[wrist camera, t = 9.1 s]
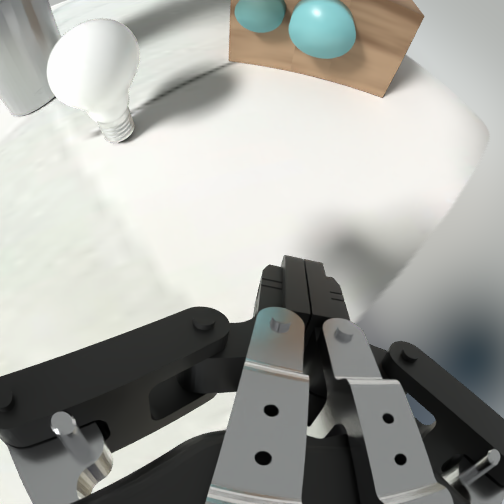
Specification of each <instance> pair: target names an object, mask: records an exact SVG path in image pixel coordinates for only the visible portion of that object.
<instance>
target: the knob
mask: <svg viewBox="0 0 504 504" xmlns="http://www.w3.org/2000/svg"><path fill="white" fill-rule="evenodd" d="M289 35H290V38H291V40H292V42H293V43H294V45H295V46H296V47H297V48H298V49H300V50H301V51H302V52H304V53H306V54H307V55H310V56H313V57H316V58H322V59H330V58H336V57H339V56H342V55H344V54H345V53H347V52H348V51H349V50H350V49H351V48H352V47H353V45H354V43H355V39H356V31H355V25H354V20H353V16H352V13H351V11H350V10H349V8H348V7H347V6H346V5H345V4H344V3H343V2H341V1H340V0H301V1H300V2H298V4H297V5H296V6H295V8H294V10H293V13H292V17H291V20H290V23H289Z"/></svg>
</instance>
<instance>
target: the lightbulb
mask: <svg viewBox="0 0 504 504" xmlns="http://www.w3.org/2000/svg"><path fill="white" fill-rule="evenodd" d="M139 61H140V49H139V45H138V42H137V39H136V37H135V36H134V34H133V33H132V31H131V30H130V29H129V28H128V27H126V26H125V25H124V24H122V23H120V22H118V21H115V20H111V19H104V18H100V19H92V20H88V21H85V22H82V23H80V24H78V25H76V26H74V27H73V28H71V29H70V30H68V31H67V32H66V33H65V34H64V35H63V36H62V37H61V38H60V39H59V40H58V41H57V43H56V44H55V46H54V47H53V49H52V51H51V53H50V56H49V59H48V63H47V80H48V84H49V87H50V89H51V91H52V92H53V94H54V95H55V96H56V98H57V99H59V100H60V101H61V102H62V103H64V104H66V105H68V106H70V107H73V108H76V109H79V110H83V111H85V112H86V113H87V114H88V115H89V116H90V117H91V118H92V119H93V120H94V121H96V122H97V124H98V125H99V128H100V129H101V132H102V134H103V136H104V138H105V140H106V141H108V142H111V143H117V142H120V141H123V140H125V139H126V138H128V137H129V136H130V135H131V134H132V132H133V131H134V127H135V125H134V121H133V119H132V116H131V113H130V110H129V107H128V105H129V88H130V86H131V84H132V82H133V80H134V78H135V75H136V73H137V70H138V67H139Z"/></svg>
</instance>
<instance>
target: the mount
mask: <svg viewBox="0 0 504 504" xmlns="http://www.w3.org/2000/svg"><path fill="white" fill-rule="evenodd" d="M300 1H301V0H231V6H230V35H229V61H233V62H241V63H248V64H254V65H260V66H266V67H272V68H277V69H282V70H287V71H292V72H296V73H301V74H305V75H309V76H313V77H317V78H321V79H325V80H328V81H332V82H336V83H339V84H342V85H346V86H349V87H352V88H355V89H358V90H361V91H364V92H367V93H370V94H373V95H376V96H379V97H382V98H383V96H384V94H385V92H386V90H387V88H388V87H389V85H390V83H391V81H392V79H393V77H394V75H395V73H396V71H397V69H398V68H399V66H400V64H401V62H402V60H403V58H404V56H405V54H406V52H407V50H408V48H409V46H410V44H411V42H412V40H413V38H414V36H415V34H416V32H417V30H418V28H419V26H420V24H421V22H422V20H423V18H424V15H423V14H422V13H421V11H420V10H419V8H418V7H417V6H416V4H415V3H414V2H413V1H412V0H340V1H341V2H343V3H344V4H345V5H346V6H347V7H348V8H349V10H350V11H351V13H352V16H353V20H354V25H355V31H356V39H355V43H354V45H353V47H352V48H351V49H350V50H349V51H348V52H347V53H345V54H344V55H342V56H339V57H336V58H330V59H322V58H316V57H313V56H310V55H307V54H306V53H304V52H302V51H301V50H300V49H298V48H297V47H296V46H295V45H294V43H293V42H292V40H291V38H290V35H289V23H290V20H291V17H292V13H293V10H294V8H295V6H296V5H297V4H298V2H300Z"/></svg>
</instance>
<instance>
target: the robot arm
mask: <svg viewBox="0 0 504 504" xmlns="http://www.w3.org/2000/svg"><path fill="white" fill-rule="evenodd" d="M60 38H61V35H60V32H59V30H58V27H57V24H56V22H55V19H54V16H53V13H52V10H51V7H50V4H49V2H48V0H0V98H1V99H2V101H3V102H4V104H5V105H6V107H7V108H8V110H9V111H10V113H11V114H12V115H14V116H23V115H26V114H29V113H31V112H33V111H35V110H37V109H38V108H40V107H42V106H43V105H45V104H46V103H47V102H49V101H50V100H51V99H52V98H54V97H55V95H54V94H53V92H52V91H51V89H50V87H49V84H48V80H47V63H48V59H49V56H50V53H51V51H52V49H53V47H54V46H55V44H56V43H57V41H58V40H59V39H60ZM224 392H237V393H236V397H235V401H234V404H233V408H232V412H231V415H230V419H229V422H228V426H227V430H222V431H215V432H210V433H205V434H202V435H199V436H196V437H193V438H191V439H189V440H187V441H185V442H183V443H182V444H180V445H178V446H177V447H175V448H173V449H172V450H170V451H169V452H167V453H165V454H164V455H162V456H161V457H159V458H157V459H156V460H154V461H152V462H151V463H149V464H147V465H145V466H144V467H142V468H140V469H138V470H137V471H135V472H133V473H131V474H130V475H128V476H126V477H124V478H122V479H120V480H118V481H116V482H115V483H113V484H111V485H109V486H107V487H105V488H103V489H101V490H99V491H97V492H95V493H92V494H91V492H92V489H93V488H94V486H95V485H96V484H97V483H98V482H99V481H101V480H102V479H104V478H105V477H106V476H107V475H108V474H109V473H110V471H111V469H112V465H113V457H112V454H111V453H113V452H115V451H117V450H119V449H121V448H123V447H125V446H127V445H129V444H132V443H134V442H136V441H138V440H139V439H141V438H143V437H145V436H147V435H149V434H151V433H153V432H155V431H157V430H159V429H160V428H162V427H164V426H166V425H168V424H170V423H171V422H173V421H175V420H177V419H179V418H180V417H182V416H184V415H186V414H187V413H189V412H191V411H192V410H194V409H196V408H198V407H199V406H201V405H203V404H204V403H206V402H208V401H209V400H211V399H212V398H214V396H215V395H216V394H217V393H224ZM407 393H409V394H410V395H411V396H412V397H413V398H415V400H417V401H418V402H419V403H420V404H421V405H422V406H424V407H425V408H426V409H427V410H428V411H429V412H430V413H431V414H433V415H434V417H435V419H436V421H435V422H434V423H433V424H432V425H424V424H422V423H421V422H419V421H418V420H417V419H416V418H415V417H414V416H413V413H412V411H411V408H410V406H409V403H408V401H407V398H406V394H407ZM0 438H1V440H2V441H3V442H4V443H5V444H6V445H7V446H8V449H9V451H10V454H11V456H12V459H13V461H14V464H15V466H16V469H17V471H18V473H19V476H20V478H21V480H22V482H23V485H24V487H25V489H26V491H27V493H28V495H29V497H30V499H31V501H32V503H33V504H501V503H502V501H503V499H504V419H503V418H502V417H501V416H500V415H498V414H497V413H496V412H495V411H494V410H493V409H491V408H490V407H489V406H488V405H487V404H485V403H484V402H483V401H482V400H481V399H479V398H478V397H477V396H476V395H475V394H474V393H472V392H471V391H470V390H469V389H467V388H466V387H465V386H464V385H463V384H462V383H460V382H459V381H458V380H457V379H456V378H454V377H453V376H452V375H451V374H449V373H448V372H447V371H445V370H444V369H443V368H442V367H441V366H440V365H438V364H437V363H436V362H435V361H433V360H432V359H431V358H430V357H429V356H427V355H426V354H425V353H423V352H422V351H421V350H420V349H418V348H417V347H416V346H414V345H412V344H410V343H407V342H403V341H398V342H394V343H393V344H392V345H391V346H390V348H389V350H388V351H386V350H383V349H381V348H378V347H375V346H373V345H370V344H369V343H368V341H367V338H366V336H365V334H364V332H363V330H362V329H361V328H360V327H359V326H358V325H356V324H355V323H353V322H351V321H350V318H349V315H348V311H347V308H346V304H345V302H344V298H343V295H342V291H341V288H340V285H339V284H338V283H337V282H336V281H335V280H334V279H333V278H332V277H327V276H326V275H325V271H324V267H323V263H320V262H315V261H311V260H306V259H304V260H303V259H301V258H296V257H292V256H287V255H284V257H283V260H282V264H281V267H278V266H274V265H268V266H267V267H266V268H265V269H264V270H263V272H262V276H261V280H260V284H259V289H258V293H257V297H256V301H255V307H254V314H253V318H252V319H250V320H248V321H246V322H241V323H229V321H228V319H227V318H226V316H225V315H224V314H222V313H221V312H219V311H217V310H215V309H212V308H208V307H192V308H189V309H186V310H184V311H181V312H178V313H176V314H173V315H171V316H168V317H166V318H163V319H160V320H158V321H155V322H153V323H150V324H147V325H145V326H142V327H140V328H137V329H134V330H132V331H129V332H126V333H124V334H121V335H118V336H116V337H113V338H110V339H108V340H105V341H102V342H99V343H97V344H94V345H91V346H88V347H86V348H83V349H80V350H77V351H74V352H72V353H69V354H66V355H63V356H60V357H57V358H55V359H52V360H49V361H46V362H43V363H40V364H37V365H34V366H31V367H28V368H25V369H22V370H19V371H16V372H13V373H10V374H7V375H4V376H1V377H0Z"/></svg>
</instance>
